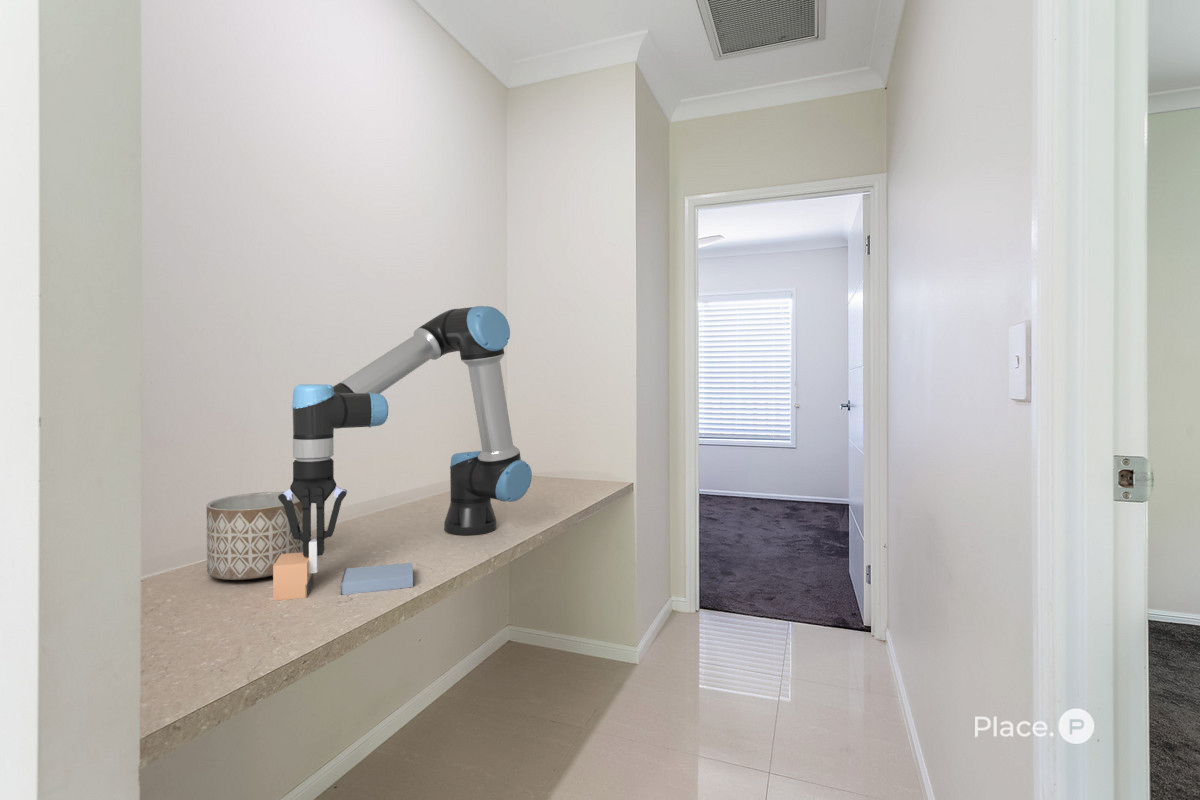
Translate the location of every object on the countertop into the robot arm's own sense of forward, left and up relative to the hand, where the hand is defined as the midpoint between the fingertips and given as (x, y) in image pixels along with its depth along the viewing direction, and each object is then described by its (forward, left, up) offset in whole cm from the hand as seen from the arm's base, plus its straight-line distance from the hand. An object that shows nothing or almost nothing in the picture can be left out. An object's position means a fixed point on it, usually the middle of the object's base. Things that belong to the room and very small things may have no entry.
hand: (313, 571), depth 118 cm
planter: (+13, -16, -4) cm, 21 cm away
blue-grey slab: (-13, 0, -4) cm, 13 cm away
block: (+4, 0, -4) cm, 5 cm away
